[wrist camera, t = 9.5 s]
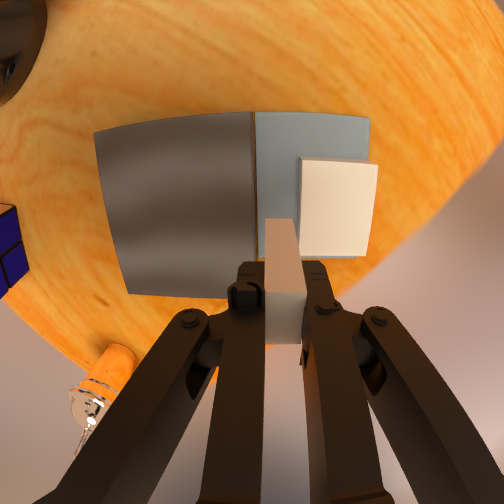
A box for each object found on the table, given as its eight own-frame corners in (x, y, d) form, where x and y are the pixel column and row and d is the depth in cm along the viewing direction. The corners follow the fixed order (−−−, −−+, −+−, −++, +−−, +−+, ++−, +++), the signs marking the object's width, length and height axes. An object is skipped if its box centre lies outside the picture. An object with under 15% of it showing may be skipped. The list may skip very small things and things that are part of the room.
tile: (378, 165, 19) (369, 160, 21) (302, 160, 19) (299, 155, 21) (365, 256, 23) (359, 245, 25) (298, 255, 23) (296, 244, 25)
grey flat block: (118, 127, 21) (93, 132, 17) (252, 111, 20) (249, 111, 16) (143, 271, 28) (128, 293, 24) (256, 273, 27) (254, 299, 24)
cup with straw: (134, 334, 33) (77, 467, 16) (157, 375, 37) (120, 492, 20) (88, 331, 34) (27, 441, 16) (113, 370, 38) (71, 471, 21)
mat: (255, 111, 20) (255, 111, 20) (368, 117, 19) (370, 118, 19) (258, 255, 26) (258, 257, 26) (354, 256, 26) (355, 258, 25)
